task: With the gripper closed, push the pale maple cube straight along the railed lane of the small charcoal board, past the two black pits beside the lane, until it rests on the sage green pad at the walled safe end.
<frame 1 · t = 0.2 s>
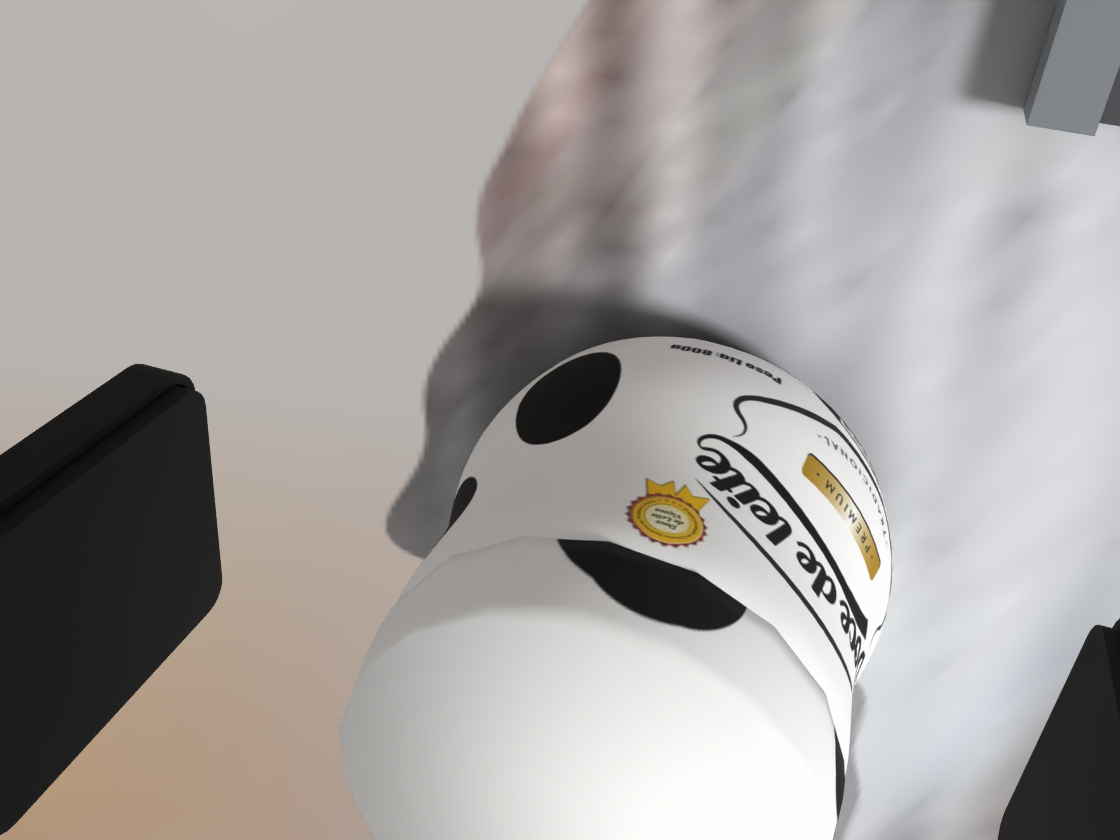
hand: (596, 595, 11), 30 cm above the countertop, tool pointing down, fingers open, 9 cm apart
milk container: (689, 486, 47), on the countertop
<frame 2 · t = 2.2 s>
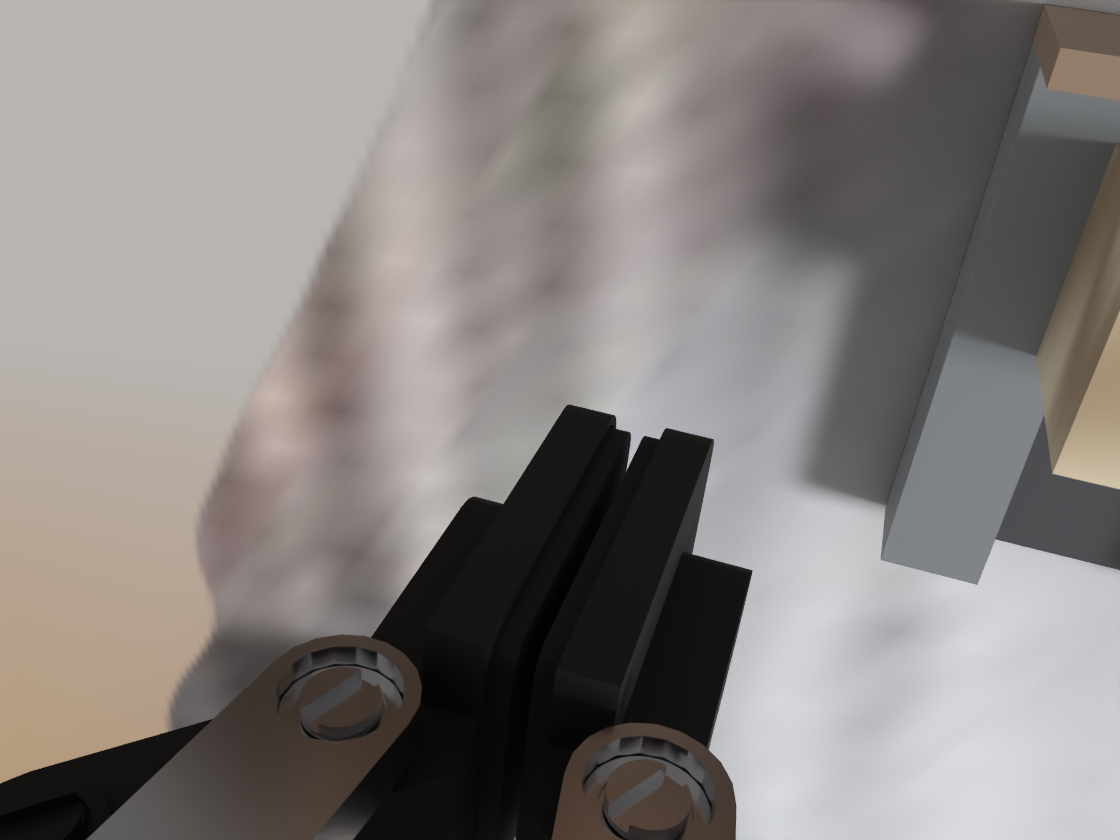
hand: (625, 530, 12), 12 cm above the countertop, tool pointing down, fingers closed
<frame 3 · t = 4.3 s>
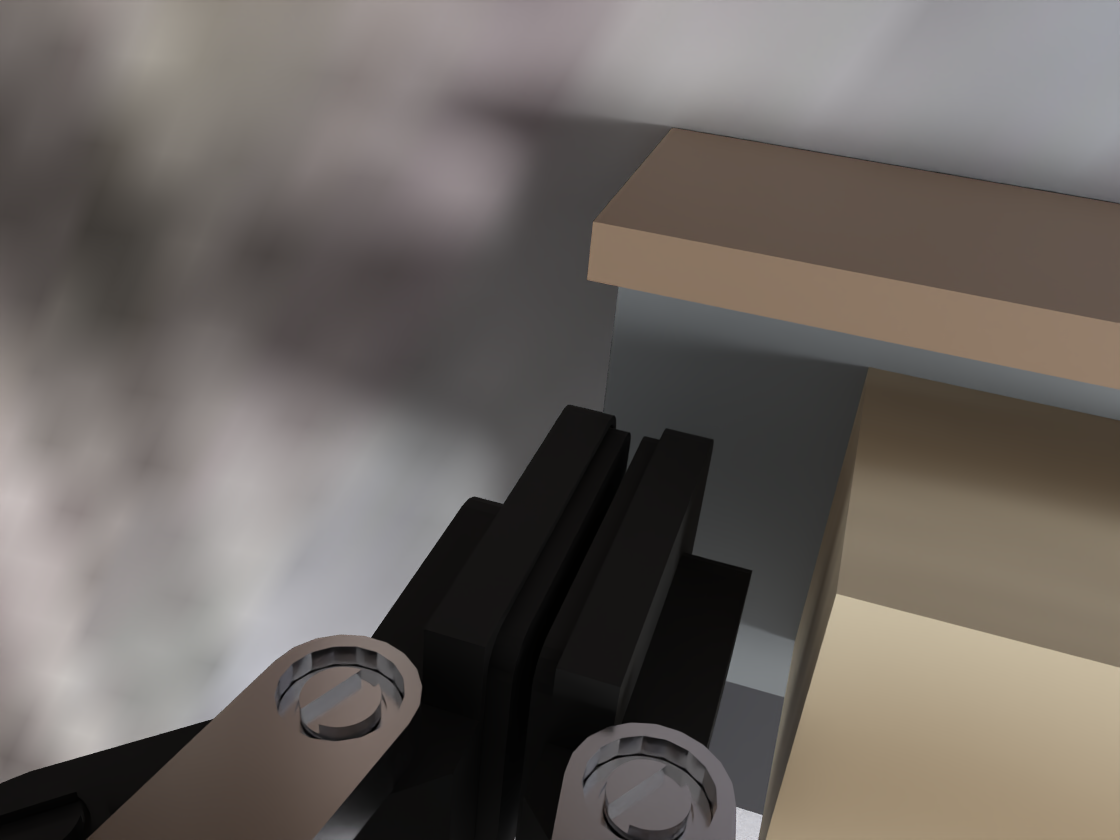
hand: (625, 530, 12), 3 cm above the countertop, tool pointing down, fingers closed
maple cube: (1005, 558, 12), point 2 cm above the countertop, touching gripper
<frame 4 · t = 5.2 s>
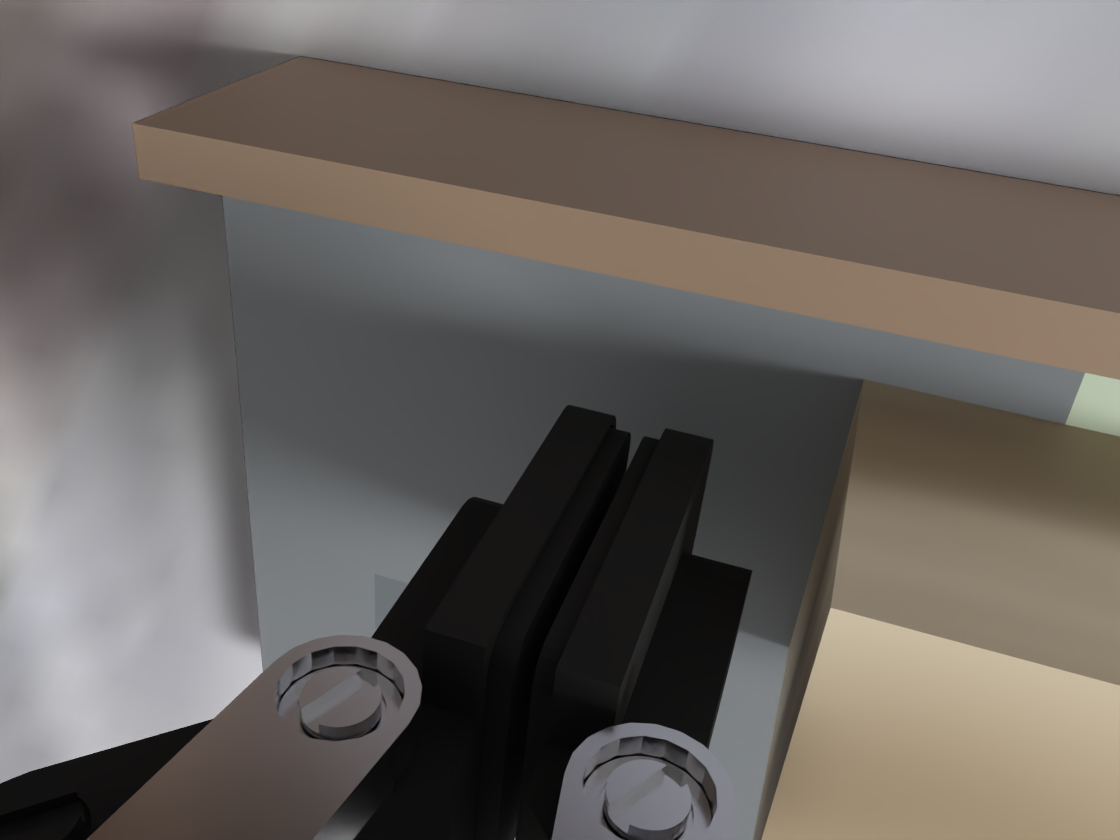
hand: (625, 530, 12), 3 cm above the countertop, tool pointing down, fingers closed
maple cube: (996, 568, 12), point 2 cm above the countertop, touching gripper
trap board: (786, 529, 15), on the countertop
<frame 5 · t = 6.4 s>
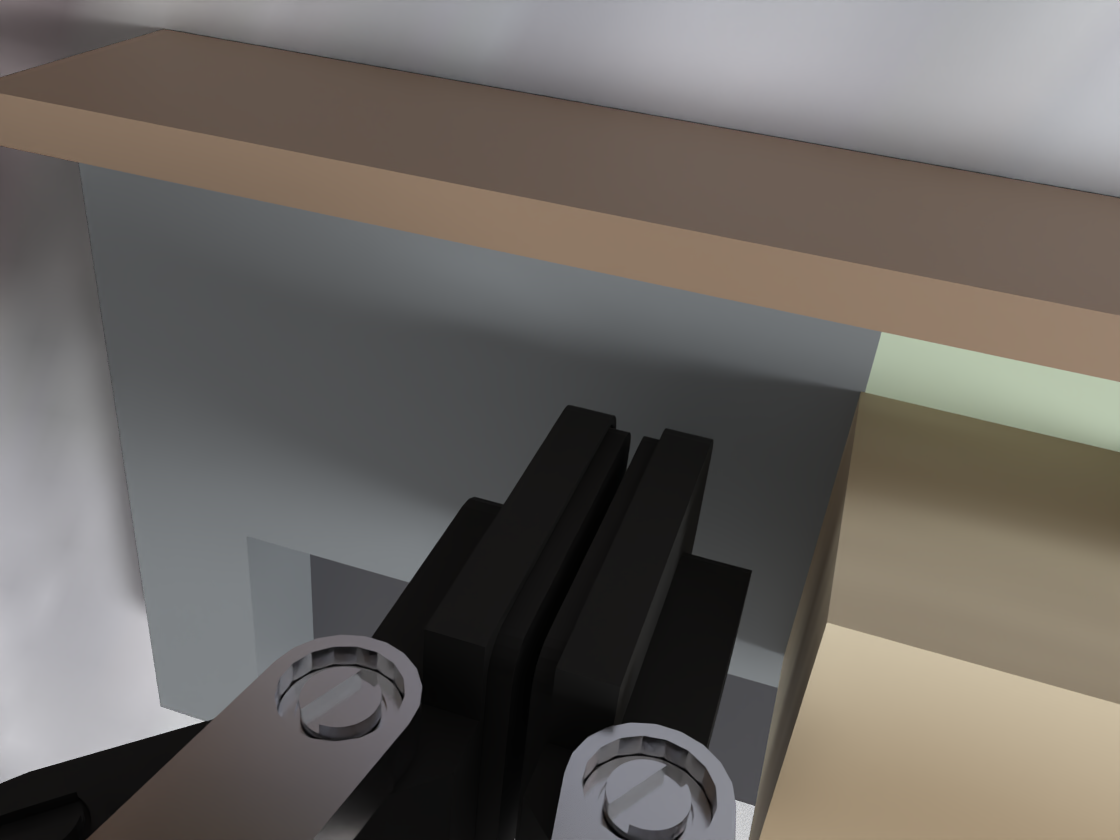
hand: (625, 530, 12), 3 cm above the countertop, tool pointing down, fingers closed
maple cube: (991, 579, 12), point 2 cm above the countertop, touching gripper, trap board
trap board: (646, 494, 16), on the countertop
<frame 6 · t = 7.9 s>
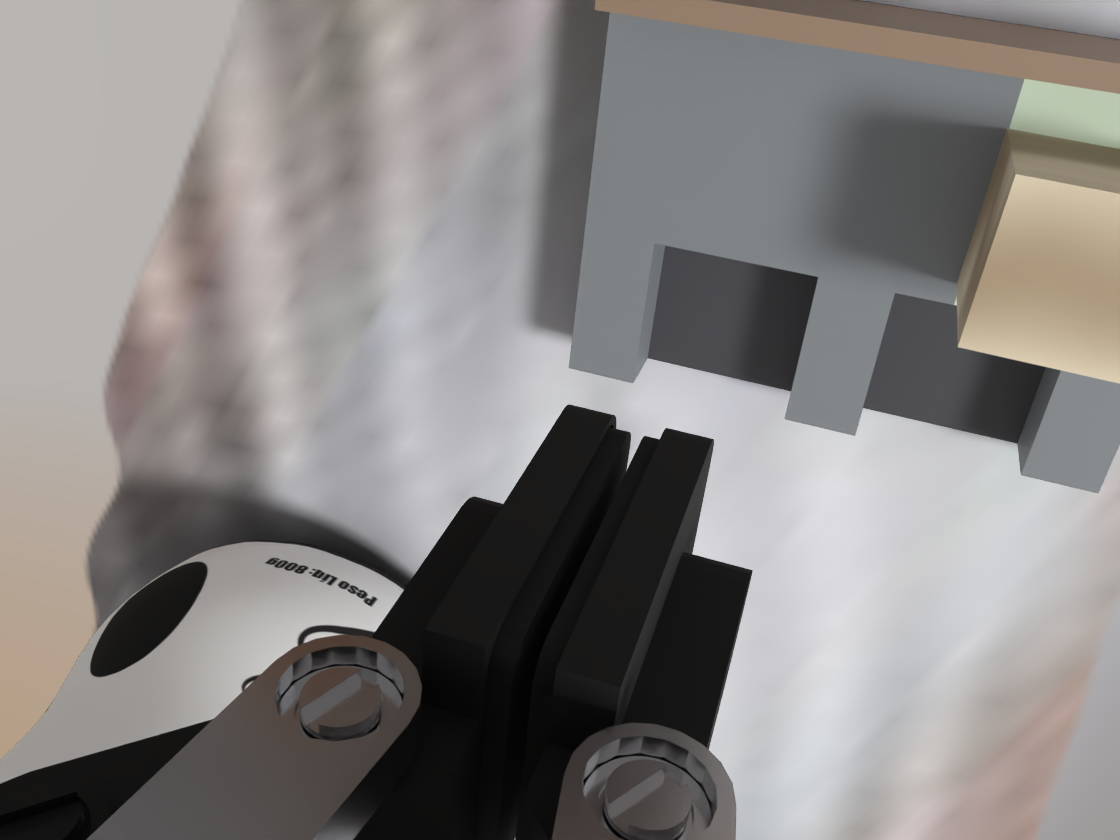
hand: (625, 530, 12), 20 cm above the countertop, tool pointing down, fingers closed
maple cube: (1065, 226, 26), point 2 cm above the countertop, touching trap board
milk container: (349, 677, 45), on the countertop
trap board: (871, 221, 29), on the countertop
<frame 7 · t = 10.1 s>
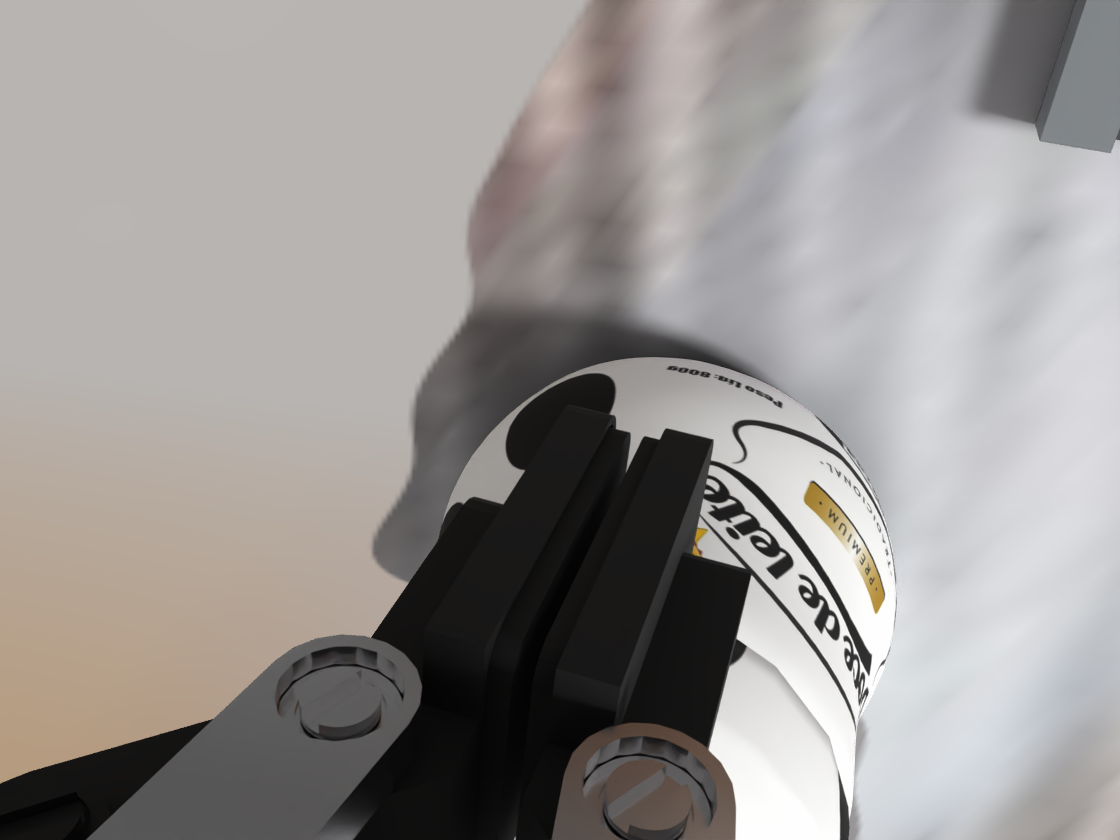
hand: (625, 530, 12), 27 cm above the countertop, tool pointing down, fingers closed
milk container: (686, 511, 45), on the countertop
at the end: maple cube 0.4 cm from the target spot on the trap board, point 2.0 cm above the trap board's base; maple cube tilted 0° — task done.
